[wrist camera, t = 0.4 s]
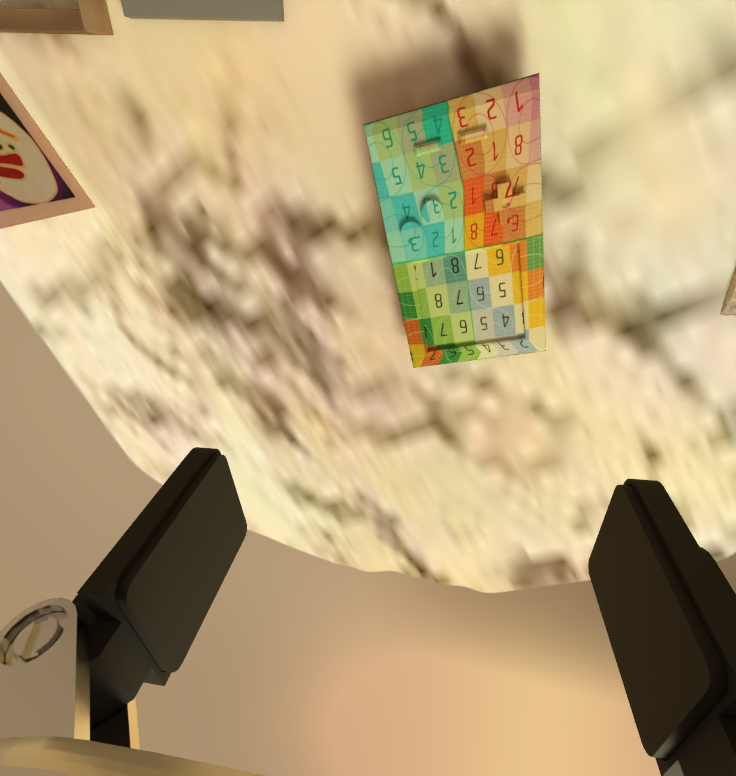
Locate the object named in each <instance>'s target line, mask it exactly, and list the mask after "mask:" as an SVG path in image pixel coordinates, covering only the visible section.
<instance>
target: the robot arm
mask: <svg viewBox="0 0 736 776" xmlns="http://www.w3.org/2000/svg"><path fill="white" fill-rule="evenodd" d="M246 532H247V523H246V520H245V517H244V513H243V510H242V507H241V504H240V501H239V497H238V494H237V491H236V488H235V485H234V481H233V478H232V475H231V472H230V469H229V465H228V462H227V459H226V457H225V456H224V455H221V453H220V451H219V450H218V449H212V448H198V447H196V448H193V449H192V450H191V451H190V452H189V453H188V455H187V456H186V457H185V458H184V460H183V461H182V462H181V463H180V465H179V466H178V467H177V468H176V470H175V471H174V472H173V473H172V475H171V476H170V477H169V478H168V480H167V481H166V482H165V483H164V485H163V486H162V487H161V489H160V490H159V491H158V492H157V493H156V495H155V496H154V497H153V498H152V500H151V501H150V502H149V504H148V505H147V506H146V507H145V508H144V510H143V511H142V512H141V513H140V515H139V516H138V517H137V519H136V520H135V521H134V522H133V523H132V525H131V526H130V527H129V529H128V530H127V531H126V532H125V533H124V535H123V536H122V537H121V539H120V540H119V541H118V542H117V544H116V545H115V546H114V547H113V549H112V550H111V551H110V552H109V553H108V555H107V556H106V557H105V559H104V560H103V561H102V562H101V563H100V565H99V566H98V567H97V569H96V570H95V571H94V572H93V574H92V575H91V576H90V577H89V578H88V580H87V581H86V582H85V583H84V585H83V586H82V587H81V588H80V590H79V591H78V592H77V593H78V595H77V596H76V597H75V599H74V600H73V601H72V602H71V601H70V600H68V599H64V598H53V599H48V600H45V601H42V602H39V603H37V604H35V605H33V606H31V607H29V608H27V609H25V610H24V611H22V612H21V613H20V614H19V615H17V616H16V617H15V618H13V619H12V620H11V621H10V622H9V623H8V624H7V625H6V626H5V627H4V628H3V629H2V630H1V631H0V776H265V775H260V774H256V773H250V772H246V771H241V770H236V769H232V768H227V767H222V766H217V765H212V764H208V763H203V762H198V761H193V760H188V759H184V758H179V757H174V756H169V755H164V754H159V753H154V752H149V751H143V750H140V745H139V733H138V722H137V711H136V701H135V700H136V699H135V696H136V695H137V693H138V691H139V689H140V687H141V685H142V684H143V682H145V683H150V684H156V685H161V686H165V684H166V682H167V680H168V678H169V676H170V674H171V672H175V671H177V670H178V669H179V667H180V666H181V664H182V663H183V661H184V658H185V657H186V655H187V652H188V650H189V648H190V647H191V644H192V642H193V640H194V638H195V636H196V634H197V632H198V630H199V628H200V626H201V624H202V622H203V620H204V618H205V616H206V614H207V612H208V610H209V608H210V606H211V604H212V602H213V600H214V598H215V596H216V594H217V592H218V590H219V588H220V586H221V584H222V582H223V580H224V578H225V576H226V574H227V572H228V570H229V568H230V566H231V564H232V562H233V560H234V558H235V556H236V554H237V552H238V550H239V548H240V546H241V544H242V542H243V540H244V538H245V536H246ZM588 567H589V575H590V579H591V582H592V584H593V588H594V591H595V595H596V597H597V601H598V604H599V607H600V611H601V614H602V617H603V620H604V623H605V626H606V630H607V633H608V636H609V639H610V642H611V646H612V649H613V652H614V655H615V658H616V662H617V665H618V668H619V671H620V675H621V678H622V681H623V684H624V687H625V690H626V694H627V697H628V700H629V703H630V707H631V710H632V713H633V716H634V719H635V723H636V726H637V729H638V732H639V735H640V738H641V742H642V744H643V747H644V749H645V751H646V752H647V754H648V755H649V756H651V757H655V758H656V761H657V764H658V767H659V770H660V773H661V776H736V594H735V592H734V591H733V589H732V588H731V586H730V585H729V583H728V581H727V579H726V578H725V576H724V574H723V573H722V571H721V570H720V568H719V566H718V565H717V563H716V561H715V560H714V559H713V557H712V556H711V555H710V553H709V552H708V551H706V550H705V549H703V548H701V547H699V545H698V544H697V542H696V540H695V539H694V537H693V535H692V533H691V532H690V530H689V528H688V527H687V525H686V523H685V522H684V520H683V518H682V517H681V515H680V513H679V512H678V510H677V508H676V507H675V505H674V503H673V502H672V500H671V498H670V497H669V495H668V493H667V491H666V490H665V488H664V486H663V485H662V484H661V483H660V482H658V481H652V480H639V479H627V480H626V481H625V483H624V484H623V485H617V486H616V488H615V490H614V493H613V495H612V498H611V501H610V504H609V506H608V509H607V512H606V515H605V517H604V520H603V523H602V526H601V528H600V531H599V534H598V536H597V539H596V542H595V545H594V547H593V550H592V553H591V556H590V558H589V564H588Z"/></svg>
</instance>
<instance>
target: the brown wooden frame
mask: <svg viewBox="0 0 736 776" xmlns="http://www.w3.org/2000/svg"><path fill="white" fill-rule="evenodd" d="M77 1H78V5H79V9H23V8H0V32H9V33H48V34H88V35H113V31H112V26H111V22H110V18H109V13H108V9H107V4H106V0H77Z"/></svg>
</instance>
